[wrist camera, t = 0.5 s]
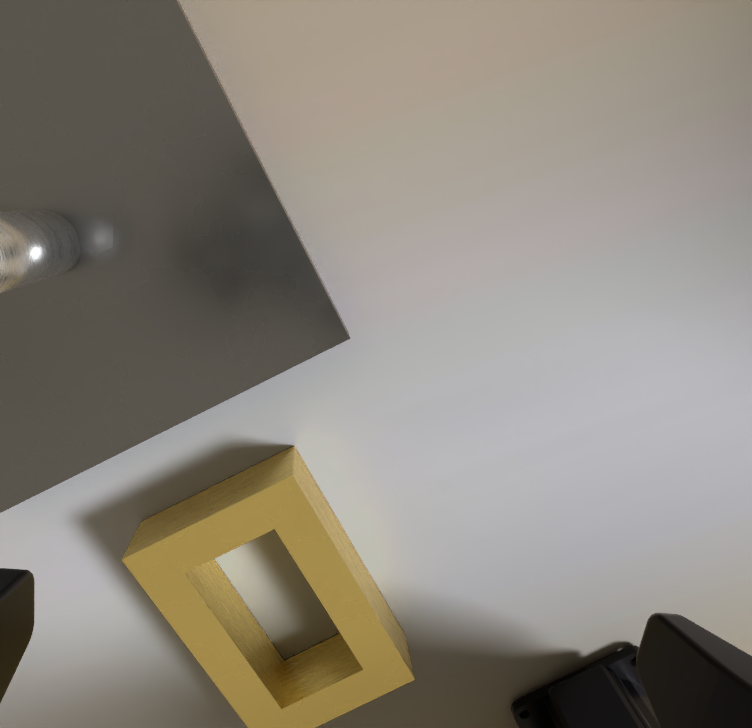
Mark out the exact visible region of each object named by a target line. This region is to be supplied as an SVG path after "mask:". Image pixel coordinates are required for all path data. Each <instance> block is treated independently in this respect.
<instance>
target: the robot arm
mask: <svg viewBox="0 0 752 728" xmlns="http://www.w3.org/2000/svg"><path fill="white" fill-rule="evenodd" d="M33 627H34V577H33V574H32V573H31V572H30V571H29V570H19V569H5V568H1V569H0V703H1V701H2V698H3V696H4V694H5V692H6V690H7V688H8V686H9V684H10V682H11V679H12V677H13V675H14V673H15V671H16V669H17V667H18V665H19V663H20V660H21V658H22V656H23V654H24V652H25V650H26V648H27V646H28V643H29V641H30V638H31V636H32V632H33ZM511 710H512V713H513V716H514V718H515V720H516V722H517V724H518V726H519V728H752V656H750V655H749V654H747V653H745V652H744V651H742V650H740V649H738V648H737V647H735V646H733V645H732V644H730V643H728V642H726V641H725V640H723V639H721V638H719V637H718V636H716V635H714V634H713V633H711V632H709V631H707V630H706V629H704V628H702V627H700V626H699V625H697V624H695V623H694V622H692V621H690V620H688V619H687V618H685V617H683V616H681V615H678V614H667V613H655V614H652V615H651V616H650V617H649V619H648V621H647V624H646V627H645V631H644V634H643V637H642V640H641V644H640V647H637V646H629V647H626V648H624V649H622V650H620V651H618V652H616V653H614V654H612V655H610V656H607V657H605V658H603V659H601V660H599V661H597V662H595V663H593V664H591V665H589V666H587V667H584V668H582V669H580V670H578V671H576V672H574V673H572V674H570V675H568V676H566V677H563V678H561V679H559V680H557V681H555V682H553V683H551V684H549V685H547V686H545V687H543V688H540V689H538V690H536V691H534V692H532V693H530V694H528V695H526V696H524V697H522V698H519V699H517V700H516V701H515V702H514V703H513V704H512V706H511ZM523 710H524V711H523Z"/></svg>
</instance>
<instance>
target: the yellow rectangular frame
mask: <svg viewBox="0 0 752 728" xmlns="http://www.w3.org/2000/svg"><path fill="white" fill-rule="evenodd" d="M274 529H275V531H276V532H277V534H278V535H279V537H280V538H281V540H282V542H283V543H284V545H285V546H286V548H287V550H288V551H289V553H290V554H291V556H292V557H293V559H294V561H295V562H296V564H297V565H298V567H299V569H300V570H301V572H302V573H303V575H304V576H305V578H306V580H307V581H308V583H309V584H310V586H311V588H312V589H313V591H314V592H315V594H316V595H317V597H318V599H319V600H320V602H321V603H322V605H323V606H324V608H325V610H326V611H327V613H328V614H329V616H330V618H331V619H332V621H333V622H334V624H335V625H336V627H337V629H338V630H339V632H340V634H338V635H336V636H334V637H332V638H330V639H328V640H326V641H324V642H322V643H320V644H318V645H315V646H313V647H311V648H309V649H307V650H305V651H303V652H301V653H299V654H297V655H295V656H293V657H291V658H289V659H287V660H285V661H284V660H283V658H282V657H281V655H280V654H279V653H278V651H277V650H276V648H275V647H274V645H273V644H272V642H271V641H270V640H269V638H268V637H267V635H266V634H265V632H264V631H263V629H262V628H261V626H260V625H259V624H258V622H257V621H256V619H255V618H254V616H253V615H252V613H251V612H250V610H249V609H248V608H247V606H246V605H245V603H244V602H243V600H242V599H241V597H240V596H239V594H238V593H237V592H236V590H235V589H234V587H233V586H232V584H231V583H230V581H229V580H228V578H227V577H226V576H225V574H224V573H223V571H222V570H221V568H220V567H219V565H218V564H217V562H216V561H215V560H214V559H215V558H217V557H219V556H221V555H223V554H225V553H227V552H229V551H231V550H233V549H235V548H237V547H239V546H241V545H243V544H245V543H247V542H249V541H251V540H253V539H255V538H257V537H259V536H261V535H263V534H265V533H268V532H270V531H272V530H274ZM122 561H123V563H124V564H125V565H126V566H127V568H128V569H129V570H130V572H131V573H132V574H133V576H134V577H135V578H136V580H137V581H138V582H139V584H140V585H141V586H142V588H143V589H144V590H145V592H146V593H147V594H148V596H149V597H150V598H151V600H152V601H153V602H154V604H155V605H156V606H157V608H158V609H159V610H160V612H161V613H162V614H163V616H164V617H165V618H166V620H167V621H168V622H169V624H170V625H171V626H172V628H173V629H174V630H175V632H176V633H177V634H178V636H179V637H180V638H181V640H182V641H183V642H184V644H185V645H186V646H187V648H188V649H189V650H190V652H191V653H192V654H193V656H194V657H195V658H196V659H197V661H198V662H199V663H200V665H201V666H202V667H203V669H204V670H205V671H206V673H207V674H208V675H209V677H210V678H211V679H212V681H213V682H214V683H215V685H216V686H217V687H218V689H219V690H220V691H221V693H222V694H223V695H224V697H225V698H226V699H227V701H228V702H229V703H230V705H231V706H232V707H233V709H234V710H235V711H236V713H237V714H238V715H239V717H240V718H241V719H242V721H243V722H244V723H245V725H246V726H247V727H248V728H316V727H318V726H320V725H322V724H324V723H326V722H328V721H330V720H332V719H334V718H336V717H338V716H341V715H343V714H345V713H347V712H349V711H351V710H353V709H355V708H357V707H359V706H361V705H363V704H366V703H368V702H370V701H372V700H374V699H376V698H378V697H380V696H382V695H384V694H386V693H388V692H390V691H393V690H395V689H397V688H399V687H401V686H403V685H405V684H407V683H409V682H411V681H413V680H415V678H414V673H413V669H412V664H411V660H410V655H409V651H408V646H407V641H406V637H405V634H404V632H403V630H402V629H401V627H400V625H399V624H398V622H397V620H396V618H395V617H394V615H393V613H392V612H391V610H390V608H389V606H388V605H387V603H386V601H385V600H384V598H383V596H382V594H381V593H380V591H379V589H378V588H377V586H376V584H375V583H374V581H373V579H372V577H371V576H370V574H369V572H368V571H367V569H366V567H365V565H364V564H363V562H362V560H361V559H360V557H359V555H358V553H357V552H356V550H355V548H354V547H353V545H352V543H351V542H350V540H349V538H348V536H347V535H346V533H345V531H344V530H343V528H342V526H341V524H340V523H339V521H338V519H337V518H336V516H335V514H334V512H333V511H332V509H331V507H330V506H329V504H328V502H327V501H326V499H325V497H324V495H323V494H322V492H321V490H320V489H319V487H318V485H317V483H316V482H315V480H314V478H313V477H312V475H311V473H310V471H309V470H308V468H307V466H306V465H305V463H304V461H303V460H302V458H301V456H300V454H299V453H298V451H297V449H296V448H295V446H293V447H291V448H289V449H287V450H285V451H283V452H281V453H279V454H277V455H275V456H273V457H271V458H269V459H267V460H264V461H262V462H260V463H258V464H256V465H254V466H252V467H250V468H248V469H246V470H244V471H242V472H240V473H238V474H236V475H234V476H232V477H230V478H228V479H226V480H224V481H222V482H220V483H218V484H216V485H214V486H212V487H210V488H208V489H206V490H204V491H202V492H200V493H198V494H196V495H194V496H192V497H190V498H188V499H186V500H184V501H182V502H180V503H178V504H176V505H174V506H172V507H169V508H167V509H165V510H163V511H161V512H159V513H157V514H155V515H153V516H151V517H149V518H147V519H145V520H143V521H141V523H140V525H139V527H138V529H137V531H136V533H135V535H134V536H133V538H132V540H131V542H130V544H129V546H128V548H127V550H126V552H125V554H124V556H123V558H122Z"/></svg>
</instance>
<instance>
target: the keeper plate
mask: <svg viewBox="0 0 752 728" xmlns="http://www.w3.org/2000/svg"><path fill="white" fill-rule="evenodd" d="M348 339H350V337H349V333H348V331H347V329H346V327H345V325H344V323H343V321H342V319H341V317H340V315H339V313H338V311H337V309H336V307H335V305H334V304H333V302H332V300H331V298H330V296H329V294H328V292H327V290H326V288H325V286H324V284H323V282H322V280H321V278H320V276H319V274H318V272H317V270H316V268H315V266H314V265H313V263H312V261H311V259H310V257H309V255H308V253H307V251H306V249H305V247H304V245H303V243H302V241H301V239H300V237H299V235H298V233H297V231H296V229H295V227H294V226H293V224H292V222H291V220H290V218H289V216H288V214H287V212H286V210H285V208H284V206H283V204H282V202H281V200H280V198H279V196H278V194H277V192H276V190H275V189H274V187H273V185H272V183H271V181H270V179H269V177H268V175H267V173H266V171H265V169H264V167H263V165H262V163H261V161H260V159H259V157H258V155H257V153H256V151H255V150H254V148H253V146H252V144H251V142H250V140H249V138H248V136H247V134H246V132H245V130H244V128H243V126H242V124H241V122H240V120H239V118H238V116H237V114H236V112H235V111H234V109H233V107H232V105H231V103H230V101H229V99H228V97H227V95H226V93H225V91H224V89H223V87H222V85H221V83H220V81H219V79H218V77H217V75H216V73H215V72H214V70H213V68H212V66H211V64H210V62H209V60H208V58H207V56H206V54H205V52H204V50H203V48H202V46H201V44H200V42H199V40H198V38H197V36H196V34H195V33H194V31H193V29H192V27H191V25H190V23H189V21H188V19H187V17H186V15H185V13H184V11H183V9H182V7H181V5H180V3H179V1H178V0H0V513H1V512H3V511H5V510H7V509H9V508H11V507H13V506H15V505H17V504H19V503H21V502H23V501H25V500H27V499H29V498H31V497H33V496H35V495H37V494H39V493H41V492H43V491H45V490H47V489H49V488H51V487H53V486H55V485H57V484H59V483H61V482H63V481H65V480H67V479H69V478H71V477H73V476H75V475H77V474H79V473H81V472H83V471H85V470H87V469H89V468H91V467H93V466H95V465H97V464H99V463H101V462H103V461H105V460H107V459H109V458H111V457H113V456H115V455H117V454H119V453H121V452H123V451H125V450H127V449H129V448H131V447H133V446H135V445H137V444H139V443H141V442H143V441H145V440H147V439H149V438H151V437H153V436H155V435H157V434H159V433H161V432H163V431H165V430H167V429H169V428H171V427H173V426H175V425H177V424H179V423H182V422H184V421H186V420H188V419H190V418H192V417H194V416H196V415H198V414H200V413H202V412H204V411H206V410H208V409H210V408H212V407H214V406H216V405H218V404H220V403H222V402H224V401H226V400H228V399H230V398H232V397H234V396H236V395H238V394H240V393H242V392H244V391H246V390H248V389H250V388H252V387H254V386H256V385H258V384H260V383H262V382H264V381H266V380H268V379H270V378H272V377H274V376H276V375H278V374H280V373H282V372H284V371H286V370H288V369H290V368H292V367H294V366H296V365H298V364H300V363H302V362H304V361H306V360H308V359H310V358H312V357H314V356H316V355H318V354H320V353H322V352H324V351H326V350H328V349H330V348H332V347H334V346H336V345H338V344H340V343H342V342H344V341H346V340H348Z"/></svg>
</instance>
